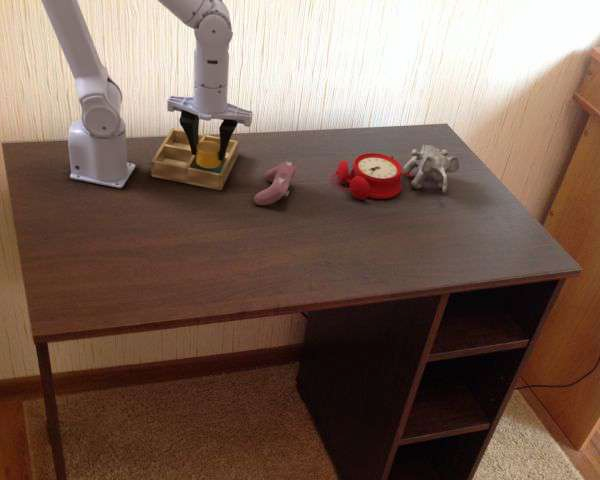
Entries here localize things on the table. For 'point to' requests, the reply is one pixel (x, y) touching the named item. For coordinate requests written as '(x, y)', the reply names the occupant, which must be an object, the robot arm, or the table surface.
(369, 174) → the alarm clock
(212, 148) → the yellow cylinder
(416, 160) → the gray elephant figurine
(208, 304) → the table surface
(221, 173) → the grid
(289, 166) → the pink curved piece
